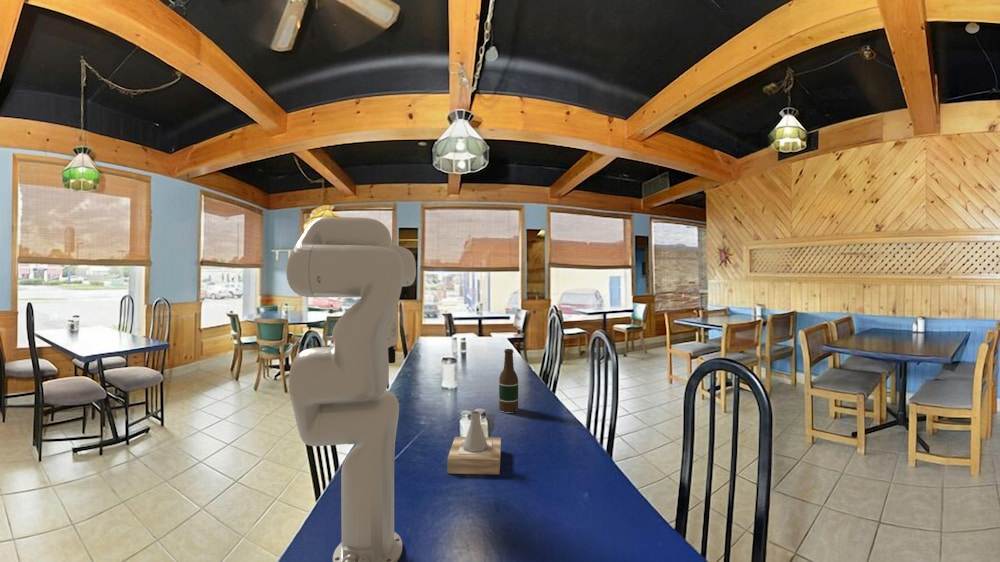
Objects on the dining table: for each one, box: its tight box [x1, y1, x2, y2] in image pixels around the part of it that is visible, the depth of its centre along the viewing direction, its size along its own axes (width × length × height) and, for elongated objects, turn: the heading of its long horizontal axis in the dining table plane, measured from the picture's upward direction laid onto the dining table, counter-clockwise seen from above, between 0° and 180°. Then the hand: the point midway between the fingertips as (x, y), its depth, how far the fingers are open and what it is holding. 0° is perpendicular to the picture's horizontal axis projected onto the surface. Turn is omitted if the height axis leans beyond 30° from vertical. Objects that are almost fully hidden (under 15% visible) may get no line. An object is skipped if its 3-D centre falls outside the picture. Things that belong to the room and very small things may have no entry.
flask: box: [463, 410, 488, 452], centre depth 112 cm, size 7×7×10 cm
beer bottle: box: [498, 348, 519, 412], centre depth 154 cm, size 8×8×24 cm
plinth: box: [446, 436, 502, 475], centre depth 112 cm, size 14×14×4 cm
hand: (383, 367), depth 107 cm, fingers open, 9 cm apart
